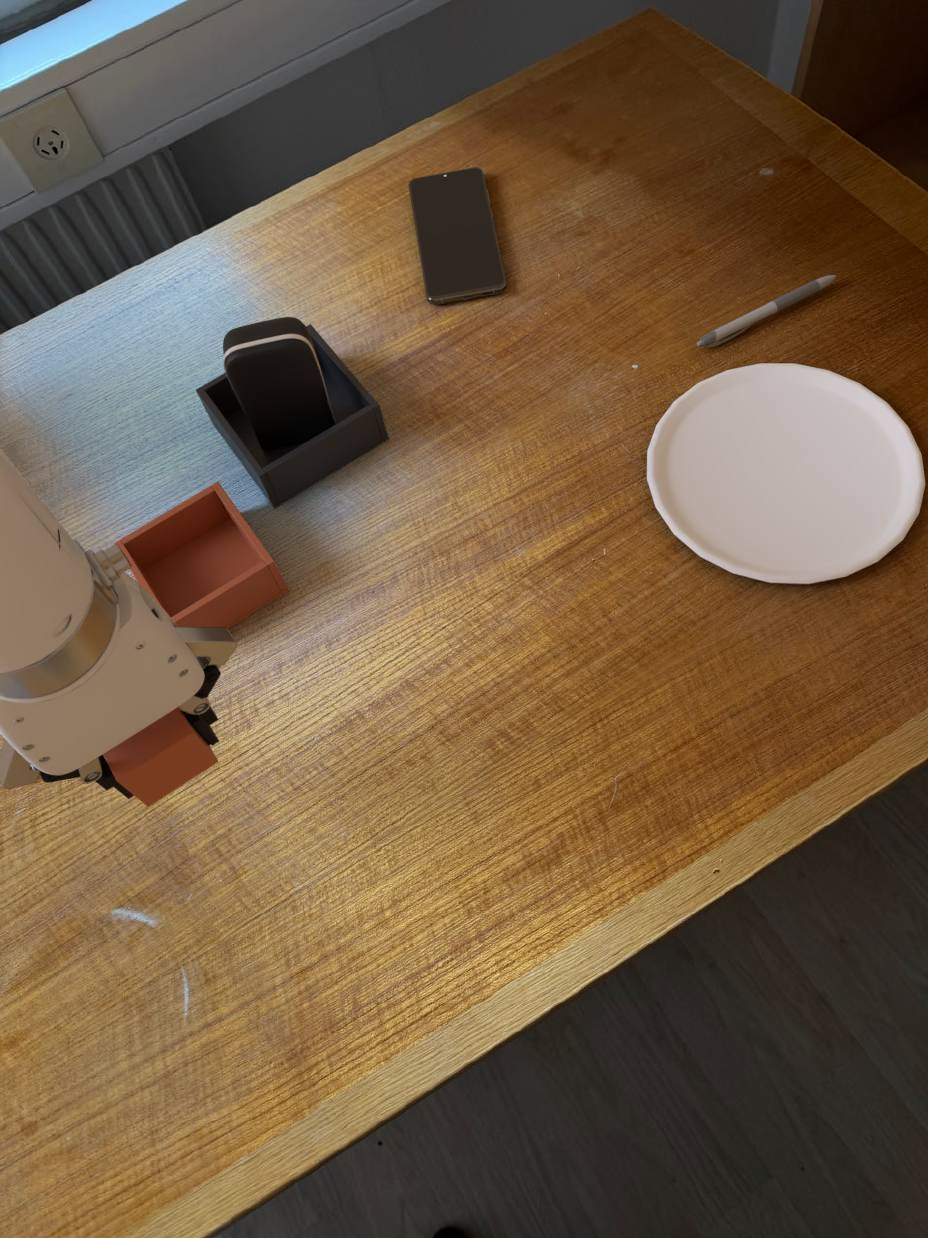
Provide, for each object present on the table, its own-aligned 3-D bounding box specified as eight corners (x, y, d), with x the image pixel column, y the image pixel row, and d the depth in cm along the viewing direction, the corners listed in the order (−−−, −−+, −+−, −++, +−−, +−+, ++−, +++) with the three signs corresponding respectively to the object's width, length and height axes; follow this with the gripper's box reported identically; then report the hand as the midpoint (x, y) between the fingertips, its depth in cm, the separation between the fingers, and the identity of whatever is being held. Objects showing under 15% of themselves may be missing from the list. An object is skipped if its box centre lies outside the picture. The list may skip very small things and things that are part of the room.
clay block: (148, 807, 63) (116, 781, 59) (114, 745, 66) (81, 715, 61) (219, 761, 64) (193, 732, 60) (183, 701, 66) (155, 669, 62)
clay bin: (186, 655, 79) (165, 628, 75) (136, 572, 83) (113, 543, 79) (289, 590, 81) (274, 561, 77) (235, 513, 85) (217, 481, 81)
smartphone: (426, 301, 92) (407, 177, 99) (428, 309, 93) (408, 187, 100) (508, 286, 92) (482, 164, 99) (509, 295, 93) (483, 173, 100)
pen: (692, 348, 88) (694, 336, 86) (830, 280, 90) (833, 267, 88) (699, 355, 87) (701, 344, 86) (837, 287, 89) (841, 274, 88)
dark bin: (274, 509, 84) (259, 476, 81) (212, 423, 89) (194, 389, 85) (389, 439, 87) (379, 404, 83) (322, 359, 91) (310, 323, 88)
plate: (762, 641, 74) (764, 633, 73) (593, 451, 84) (593, 442, 83) (982, 498, 78) (987, 488, 77) (796, 332, 87) (799, 321, 86)
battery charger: (335, 401, 88) (303, 302, 78) (341, 435, 87) (309, 339, 77) (255, 418, 88) (213, 322, 78) (259, 453, 87) (216, 360, 77)
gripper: (156, 473, 52) (253, 635, 68) (-165, 658, 49) (18, 782, 65) (225, 578, 49) (310, 721, 65) (-113, 782, 45) (66, 880, 61)
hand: (163, 750), depth 65 cm, fingers closed on clay block, 5 cm apart
